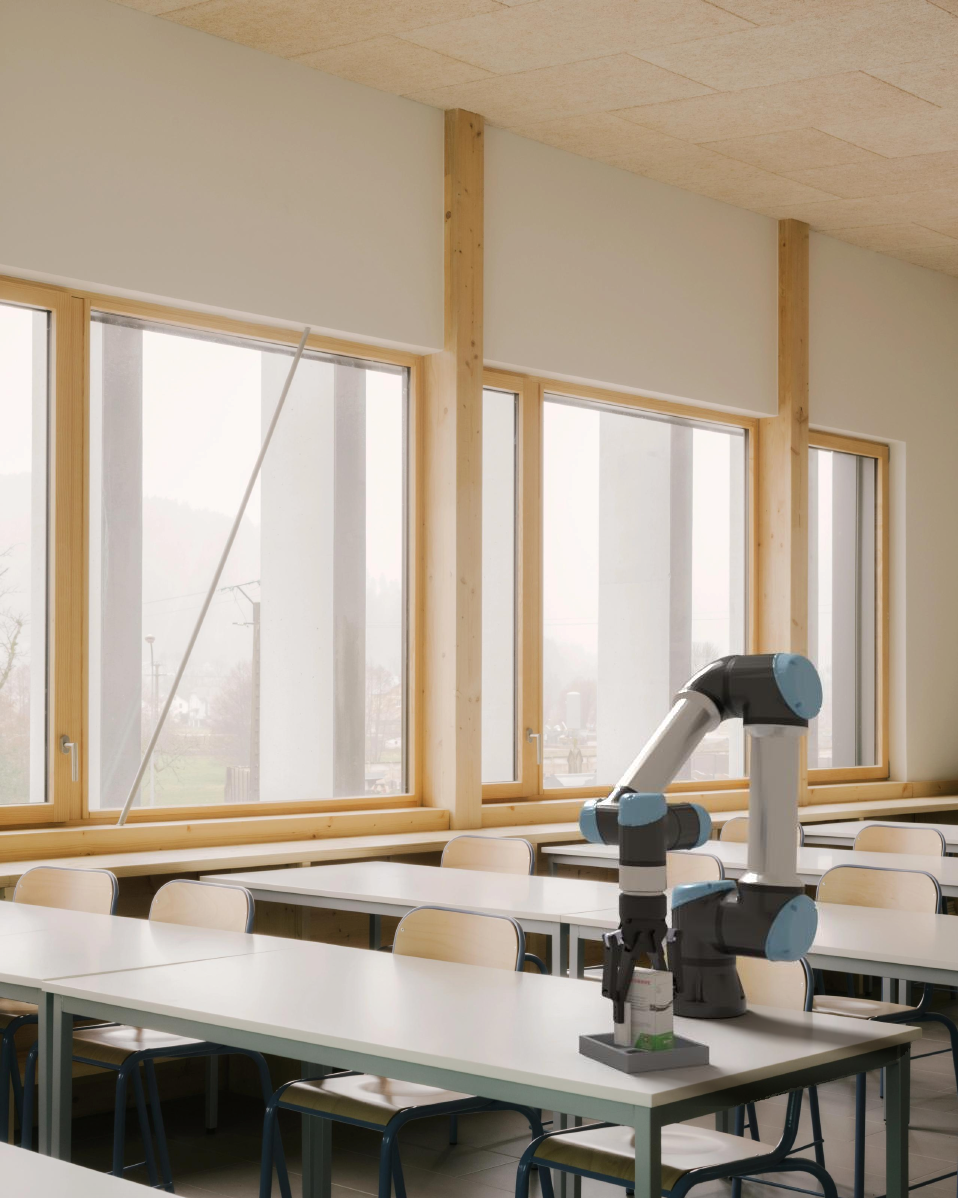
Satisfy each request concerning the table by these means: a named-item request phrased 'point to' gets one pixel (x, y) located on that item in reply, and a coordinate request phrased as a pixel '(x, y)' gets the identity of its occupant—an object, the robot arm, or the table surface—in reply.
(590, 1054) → the parts tray
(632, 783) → the robot arm
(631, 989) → the ink box
